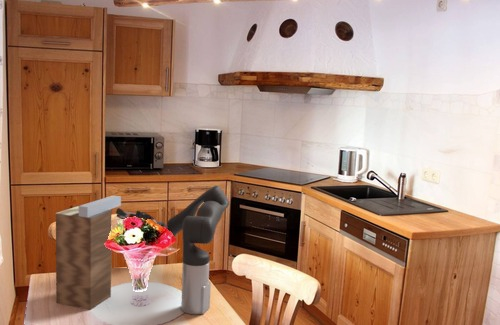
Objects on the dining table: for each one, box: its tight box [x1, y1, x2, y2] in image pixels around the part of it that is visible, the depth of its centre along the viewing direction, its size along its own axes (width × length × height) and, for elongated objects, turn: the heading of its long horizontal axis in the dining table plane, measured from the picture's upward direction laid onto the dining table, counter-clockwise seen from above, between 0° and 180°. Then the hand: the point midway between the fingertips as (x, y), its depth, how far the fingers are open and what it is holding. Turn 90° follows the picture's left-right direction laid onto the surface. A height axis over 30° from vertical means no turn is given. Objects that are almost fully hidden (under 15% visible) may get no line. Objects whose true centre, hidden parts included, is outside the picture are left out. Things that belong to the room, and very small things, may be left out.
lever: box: [78, 195, 122, 217], centre depth 170 cm, size 4×20×4 cm, turn 162°
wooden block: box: [55, 205, 112, 310], centre depth 170 cm, size 14×12×32 cm
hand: (127, 211), depth 188 cm, fingers open, 8 cm apart
